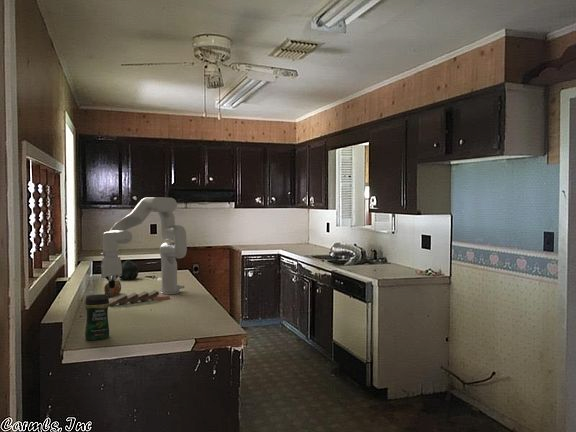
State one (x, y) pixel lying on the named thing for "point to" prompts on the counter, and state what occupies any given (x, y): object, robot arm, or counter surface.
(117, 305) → the mat
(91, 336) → the coffee jar
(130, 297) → the domino
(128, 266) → the squash
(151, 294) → the domino
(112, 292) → the tin
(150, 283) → the counter surface
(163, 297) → the domino
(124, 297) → the domino
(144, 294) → the domino
